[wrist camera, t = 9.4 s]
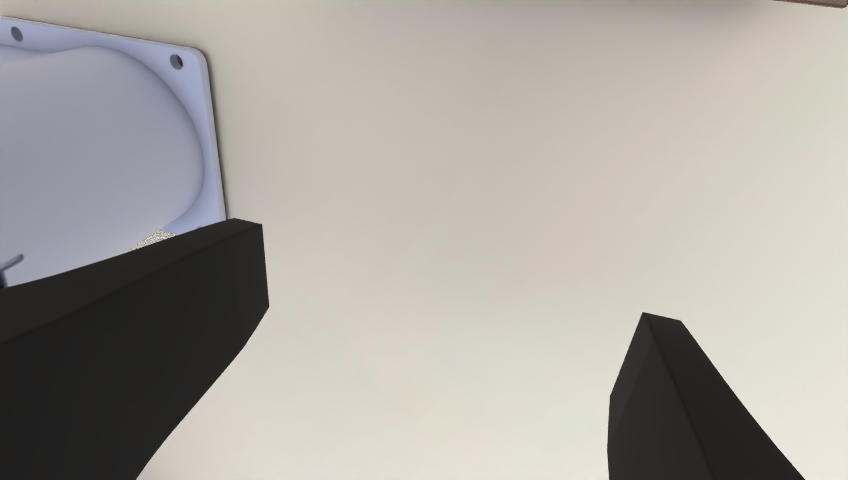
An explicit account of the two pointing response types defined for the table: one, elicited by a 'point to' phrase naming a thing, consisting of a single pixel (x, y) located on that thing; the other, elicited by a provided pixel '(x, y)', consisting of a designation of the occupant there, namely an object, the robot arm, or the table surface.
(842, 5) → the walnut block
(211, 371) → the robot arm
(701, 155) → the table surface
